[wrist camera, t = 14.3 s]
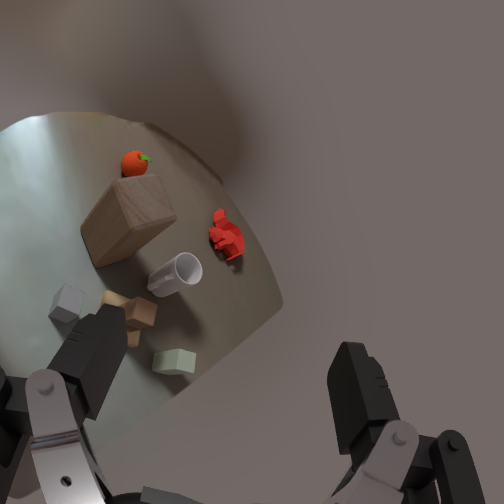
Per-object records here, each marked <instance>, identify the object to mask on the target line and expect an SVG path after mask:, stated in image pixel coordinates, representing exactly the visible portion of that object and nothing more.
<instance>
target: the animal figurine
mask: <svg viewBox="0 0 504 504" xmlns="http://www.w3.org/2000/svg"><path fill="white" fill-rule="evenodd" d="M214 225H215V226H216V227H213V228H212V229H211V228H209V231H210V234H209V238H210V239H211V240H212V241H213V242H214V243H216V245H214V247H215V249H218V250H222V249H223V251H224V252H225V254H226V255H227V256H228V257H229V258H228V259H227V260H226V261H228V260H231V259H233V258H235V257H237V256H239V255H242V254H243V253H244V241H243V236H242V233H241V231H240V230H239V228H238V227H237V226H236V225H234V224H232V223H231V222H229V221H228V220H227V219H226V217H225V210H222V209H219V210H217V211H216V212H215V213H214Z"/></svg>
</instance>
